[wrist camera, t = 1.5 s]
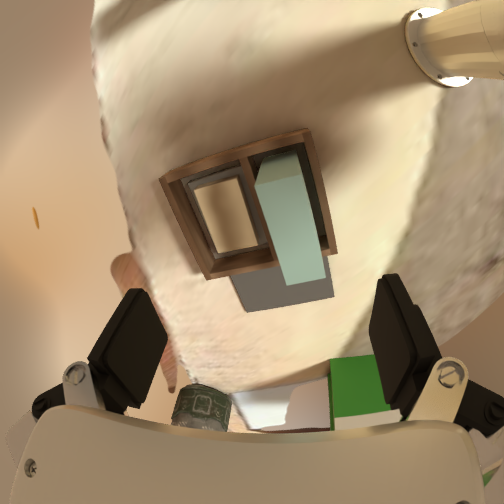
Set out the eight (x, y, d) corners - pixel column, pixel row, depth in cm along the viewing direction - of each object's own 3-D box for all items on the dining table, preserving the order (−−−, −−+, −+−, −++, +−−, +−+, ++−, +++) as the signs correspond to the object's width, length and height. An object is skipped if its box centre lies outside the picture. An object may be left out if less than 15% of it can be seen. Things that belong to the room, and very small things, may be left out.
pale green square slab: (295, 149, 34) (301, 174, 24) (316, 227, 39) (326, 277, 29) (263, 158, 35) (254, 186, 25) (286, 234, 41) (286, 285, 31)
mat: (326, 252, 41) (326, 254, 41) (334, 294, 46) (334, 296, 45) (230, 272, 45) (229, 274, 45) (247, 310, 50) (247, 312, 49)
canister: (240, 406, 73) (227, 489, 50) (195, 406, 77) (177, 481, 54) (219, 382, 66) (198, 478, 42) (170, 382, 70) (143, 466, 46)
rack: (307, 128, 32) (310, 131, 28) (333, 239, 40) (337, 253, 37) (169, 170, 37) (158, 179, 34) (212, 265, 45) (206, 280, 42)
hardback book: (327, 375, 60) (331, 466, 39) (329, 358, 56) (335, 458, 36) (394, 367, 57) (411, 452, 37) (402, 350, 53) (424, 442, 33)
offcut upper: (239, 174, 35) (236, 178, 33) (259, 238, 40) (258, 245, 38) (198, 185, 36) (193, 190, 35) (221, 246, 41) (218, 253, 40)
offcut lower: (243, 162, 36) (241, 166, 34) (268, 236, 42) (267, 242, 40) (191, 179, 38) (187, 183, 36) (220, 247, 44) (218, 254, 42)
